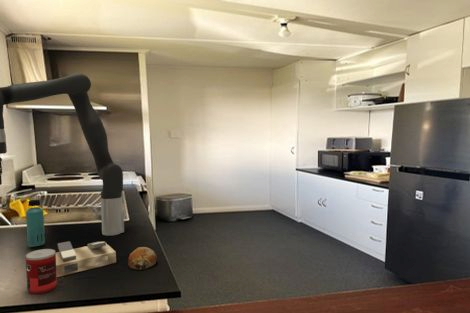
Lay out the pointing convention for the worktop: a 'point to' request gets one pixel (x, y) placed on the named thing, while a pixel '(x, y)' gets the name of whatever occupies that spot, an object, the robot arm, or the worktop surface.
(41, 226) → the beverage bottle
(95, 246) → the switch
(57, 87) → the robot arm
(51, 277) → the canned food
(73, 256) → the switch
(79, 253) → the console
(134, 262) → the bread roll
